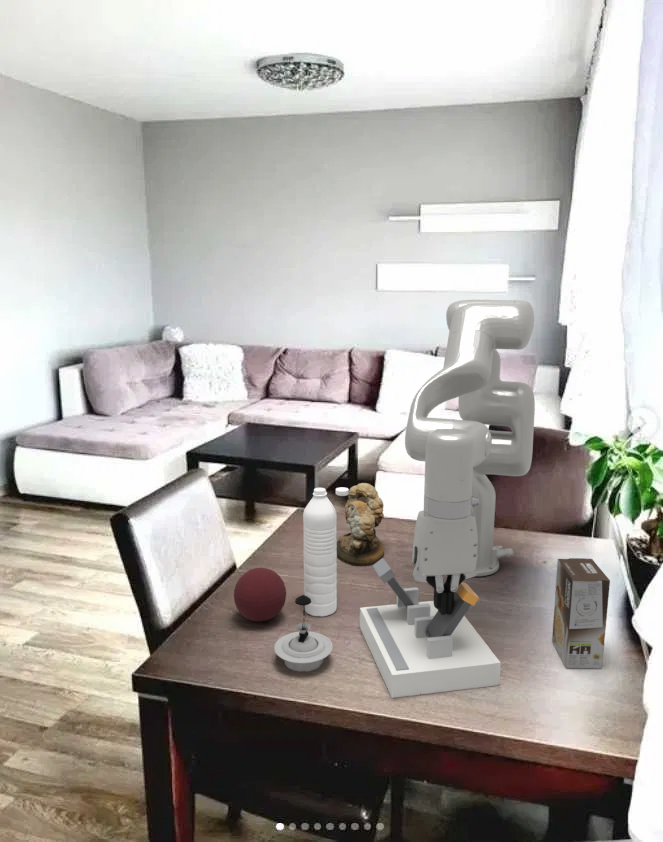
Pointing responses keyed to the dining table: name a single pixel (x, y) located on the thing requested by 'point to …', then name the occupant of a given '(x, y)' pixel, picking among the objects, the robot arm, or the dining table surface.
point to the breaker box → (425, 650)
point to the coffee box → (580, 612)
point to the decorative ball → (259, 594)
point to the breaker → (392, 581)
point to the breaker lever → (452, 613)
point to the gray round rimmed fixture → (303, 645)
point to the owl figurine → (362, 527)
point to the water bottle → (321, 553)
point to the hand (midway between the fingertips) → (443, 610)
